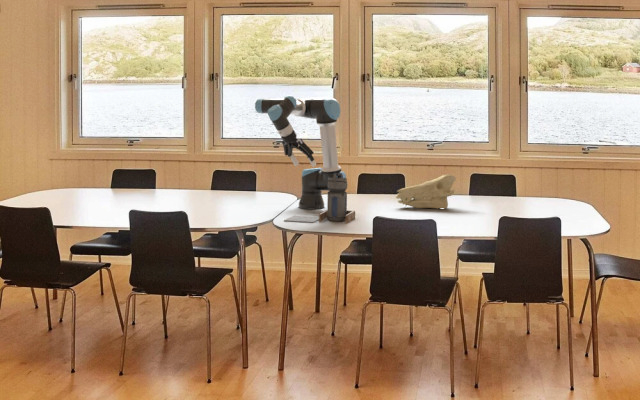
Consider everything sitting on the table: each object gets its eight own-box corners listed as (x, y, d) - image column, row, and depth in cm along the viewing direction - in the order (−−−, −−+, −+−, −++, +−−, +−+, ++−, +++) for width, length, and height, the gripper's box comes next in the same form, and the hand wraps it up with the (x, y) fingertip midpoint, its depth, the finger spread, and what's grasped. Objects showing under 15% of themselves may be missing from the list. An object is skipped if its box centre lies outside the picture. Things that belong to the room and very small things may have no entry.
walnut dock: (327, 216, 405) (327, 209, 405) (354, 218, 401) (355, 210, 401) (319, 221, 388) (319, 214, 388) (347, 223, 384) (347, 215, 384)
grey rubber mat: (294, 216, 405) (294, 215, 405) (322, 218, 401) (322, 216, 401) (283, 221, 388) (283, 220, 388) (313, 222, 384) (313, 221, 384)
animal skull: (457, 210, 439) (458, 175, 436) (397, 209, 437) (398, 175, 434) (451, 206, 454) (452, 173, 452) (393, 206, 452) (394, 173, 449)
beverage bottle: (349, 218, 400) (350, 171, 396) (343, 222, 387) (344, 174, 384) (331, 217, 403) (332, 171, 399) (324, 221, 390) (325, 173, 387)
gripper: (267, 137, 392) (286, 169, 402) (298, 137, 374) (317, 170, 384) (275, 128, 396) (294, 160, 406) (307, 128, 378) (326, 161, 388)
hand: (305, 165), depth 395 cm, fingers open, 13 cm apart
